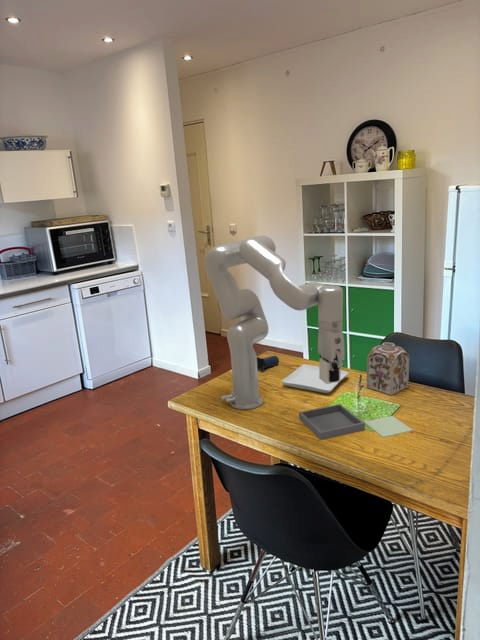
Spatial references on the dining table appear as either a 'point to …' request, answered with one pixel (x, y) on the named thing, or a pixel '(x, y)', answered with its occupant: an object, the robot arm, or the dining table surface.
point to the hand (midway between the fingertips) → (329, 377)
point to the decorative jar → (387, 369)
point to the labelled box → (326, 370)
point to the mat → (388, 426)
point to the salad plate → (310, 379)
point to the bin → (331, 421)
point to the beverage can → (266, 362)
